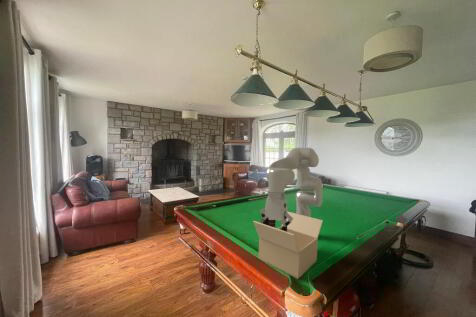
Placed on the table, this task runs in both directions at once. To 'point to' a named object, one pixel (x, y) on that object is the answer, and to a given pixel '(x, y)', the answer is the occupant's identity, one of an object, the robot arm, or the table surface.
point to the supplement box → (271, 222)
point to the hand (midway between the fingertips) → (275, 231)
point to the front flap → (276, 236)
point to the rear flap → (305, 224)
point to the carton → (290, 254)
